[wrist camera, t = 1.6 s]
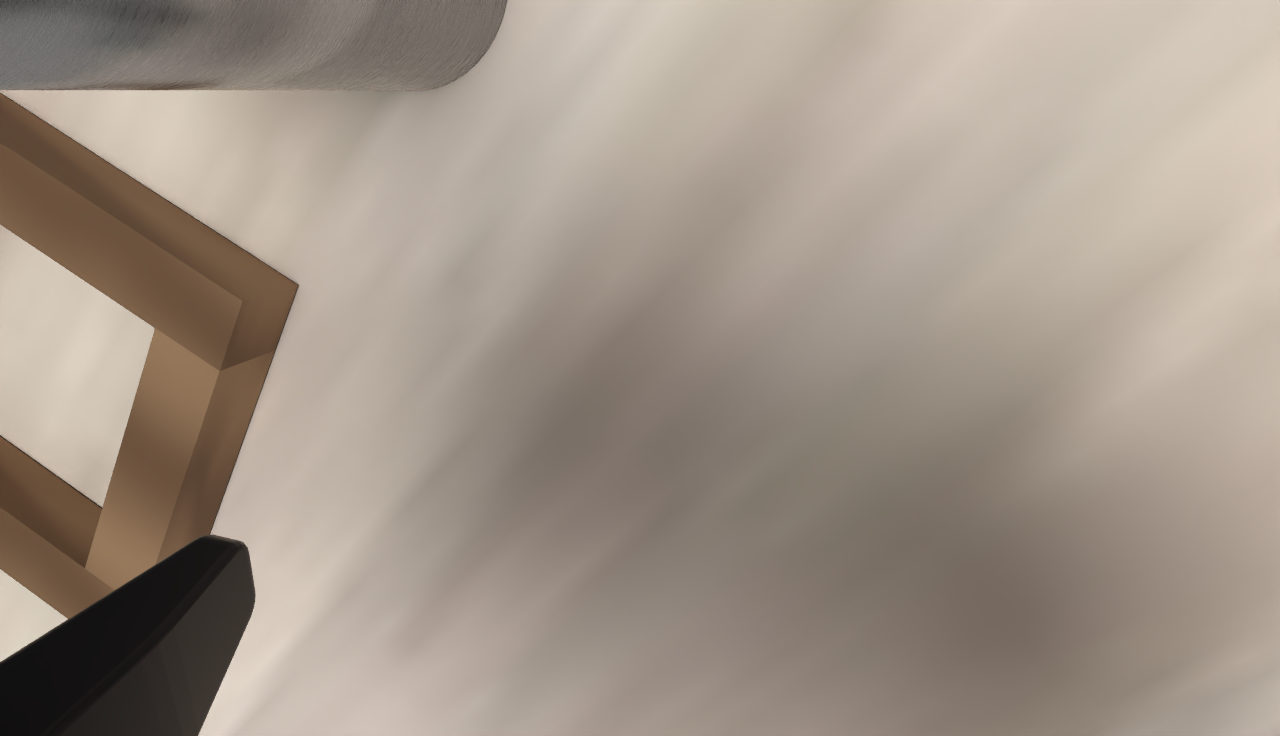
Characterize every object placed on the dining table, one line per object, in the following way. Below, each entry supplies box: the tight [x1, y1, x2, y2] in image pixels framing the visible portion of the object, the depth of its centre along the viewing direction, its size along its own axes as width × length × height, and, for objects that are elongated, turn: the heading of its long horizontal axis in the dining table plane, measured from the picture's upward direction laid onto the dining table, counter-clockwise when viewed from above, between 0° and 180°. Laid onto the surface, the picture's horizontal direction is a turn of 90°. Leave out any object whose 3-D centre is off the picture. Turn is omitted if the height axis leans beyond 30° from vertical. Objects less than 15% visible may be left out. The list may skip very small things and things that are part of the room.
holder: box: [0, 93, 298, 619], centre depth 26 cm, size 12×12×2 cm
